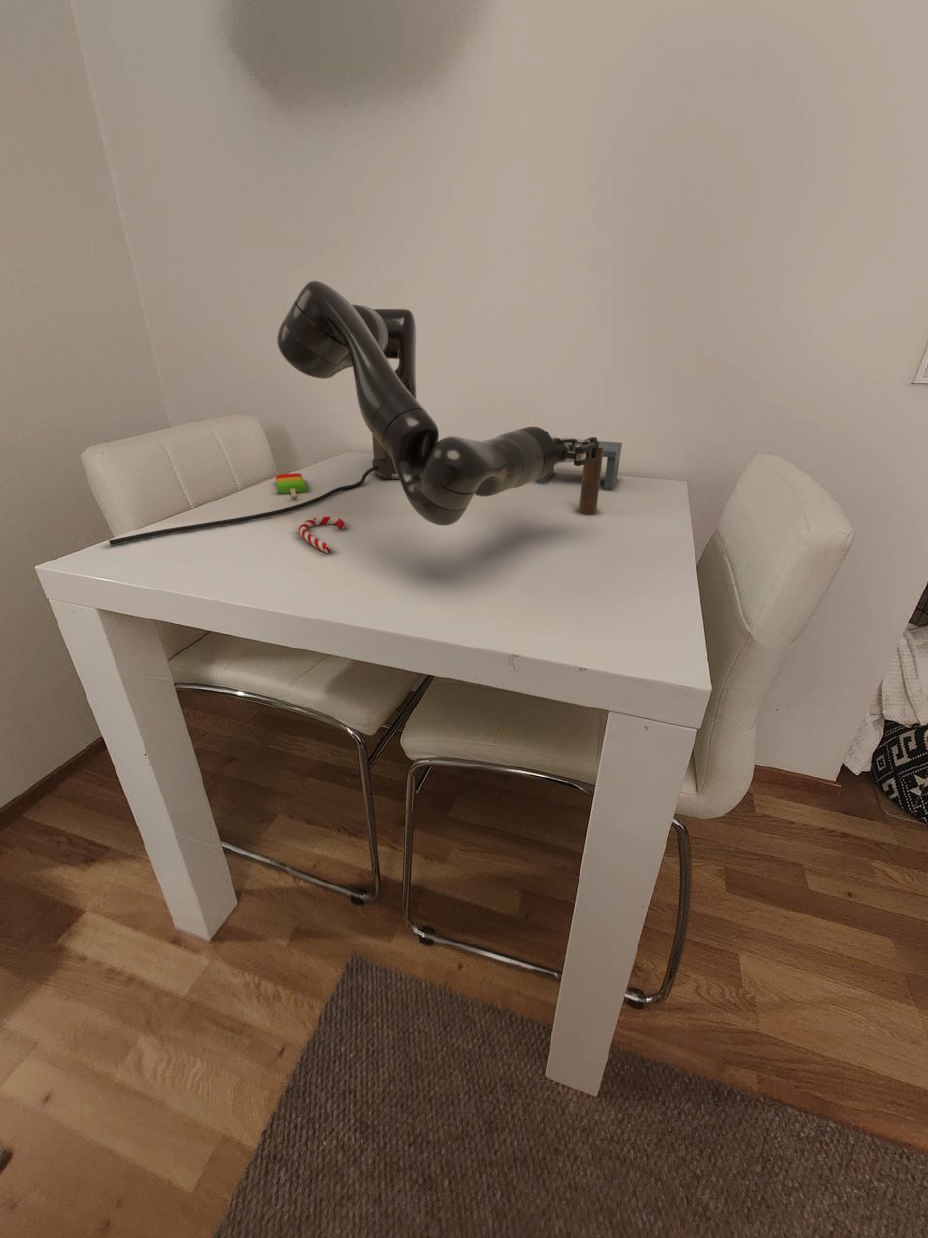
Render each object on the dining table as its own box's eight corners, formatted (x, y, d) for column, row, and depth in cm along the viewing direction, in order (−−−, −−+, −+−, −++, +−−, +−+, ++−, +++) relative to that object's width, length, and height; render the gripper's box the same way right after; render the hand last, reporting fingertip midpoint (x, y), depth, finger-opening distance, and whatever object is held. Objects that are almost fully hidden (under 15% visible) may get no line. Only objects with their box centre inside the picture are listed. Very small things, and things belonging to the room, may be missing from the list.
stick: (587, 515, 104) (594, 448, 98) (575, 511, 107) (581, 445, 101) (599, 512, 106) (607, 446, 100) (587, 508, 108) (594, 443, 102)
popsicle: (302, 480, 125) (301, 472, 124) (309, 499, 112) (308, 490, 111) (276, 482, 123) (275, 474, 122) (280, 502, 111) (278, 492, 110)
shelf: (610, 490, 119) (615, 451, 115) (536, 483, 124) (538, 445, 120) (617, 479, 127) (622, 442, 123) (547, 472, 132) (549, 437, 128)
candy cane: (305, 548, 85) (295, 518, 98) (306, 556, 86) (296, 525, 98) (356, 542, 88) (340, 513, 100) (357, 550, 88) (341, 521, 101)
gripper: (476, 477, 86) (530, 458, 97) (561, 492, 78) (608, 470, 90) (477, 425, 82) (533, 412, 94) (566, 436, 75) (614, 420, 86)
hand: (570, 440), depth 92 cm, fingers open, 8 cm apart
